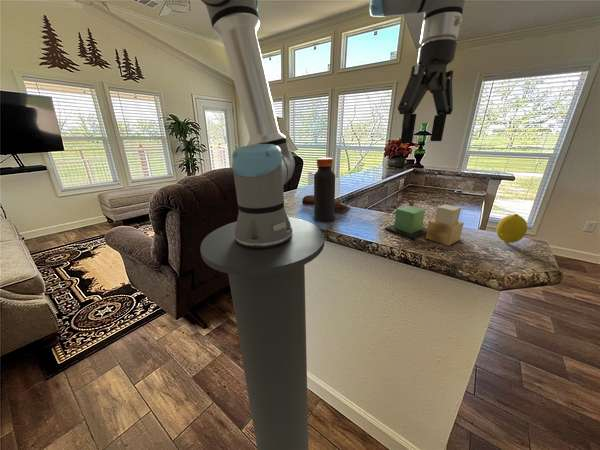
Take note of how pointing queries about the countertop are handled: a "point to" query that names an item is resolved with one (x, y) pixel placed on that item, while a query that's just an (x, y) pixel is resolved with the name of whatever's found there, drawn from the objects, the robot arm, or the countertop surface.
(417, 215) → the green block
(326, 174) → the bottle
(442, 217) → the cream block
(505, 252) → the countertop surface
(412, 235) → the coaster
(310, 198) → the sunglasses case
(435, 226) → the maple block
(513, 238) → the lemon
